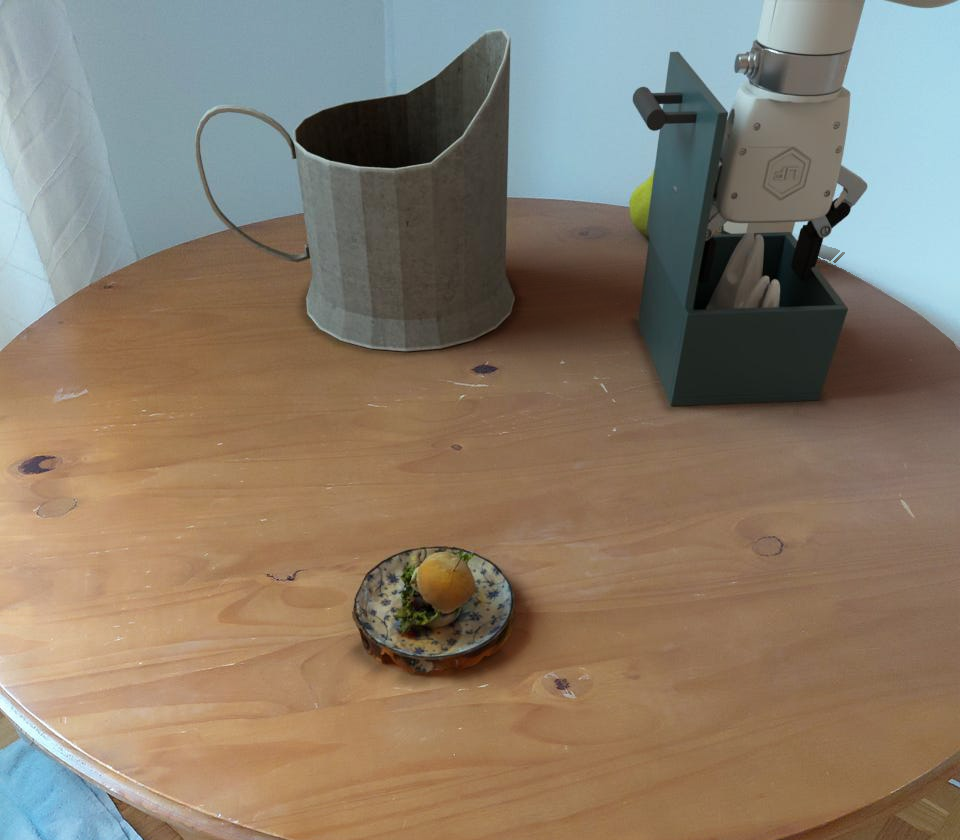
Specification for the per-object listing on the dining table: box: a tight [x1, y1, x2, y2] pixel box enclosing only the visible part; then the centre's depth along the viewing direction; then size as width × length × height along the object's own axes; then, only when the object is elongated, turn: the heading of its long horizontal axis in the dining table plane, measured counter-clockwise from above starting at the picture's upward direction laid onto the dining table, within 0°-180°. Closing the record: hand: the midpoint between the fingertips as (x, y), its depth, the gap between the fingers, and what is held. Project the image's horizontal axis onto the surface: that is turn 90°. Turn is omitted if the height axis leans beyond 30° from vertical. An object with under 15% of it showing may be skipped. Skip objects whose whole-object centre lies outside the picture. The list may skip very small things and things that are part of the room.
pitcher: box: [194, 28, 515, 352], centre depth 90 cm, size 23×32×25 cm
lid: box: [632, 51, 729, 309], centre depth 78 cm, size 16×17×5 cm
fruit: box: [628, 167, 655, 239], centre depth 107 cm, size 7×7×12 cm
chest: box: [637, 232, 849, 407], centre depth 88 cm, size 15×17×9 cm
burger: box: [351, 545, 516, 674], centre depth 63 cm, size 12×12×8 cm
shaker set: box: [706, 232, 780, 310], centre depth 87 cm, size 12×4×11 cm, turn 3°
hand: (750, 275), depth 85 cm, fingers open, 9 cm apart
